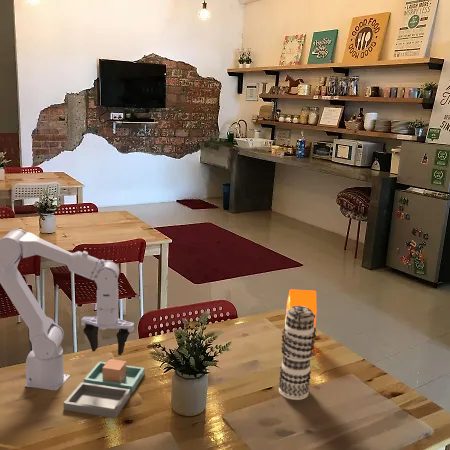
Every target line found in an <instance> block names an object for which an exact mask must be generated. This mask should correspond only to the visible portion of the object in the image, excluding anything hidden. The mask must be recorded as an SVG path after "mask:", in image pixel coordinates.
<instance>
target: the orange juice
mask: <svg viewBox="0 0 450 450" xmlns="http://www.w3.org/2000/svg"><path fill="white" fill-rule="evenodd" d="M293 306H305V307H308V308H309V309H311V311H312V312H313V313H314V314H315V316H316V317H315V318H314V327H315V328H316V323H317V312H318V311H317V290H309V289H308V290H307V289H289V291H288V296H287V301H286V310H285V312H286V311H287V310H289V309H290V308H291V307H293ZM286 317H287V315H286V314H285V318H286ZM284 321H285V322H286V319H284ZM285 322H284V323H285ZM285 333H286V332H285ZM312 336H313V335H312ZM284 339H285V338H284ZM313 351H314V349H313V350H312V353H313Z"/></svg>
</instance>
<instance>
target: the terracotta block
mask: <svg viewBox="0 0 450 450" xmlns="http://www.w3.org/2000/svg"><path fill="white" fill-rule="evenodd" d="M126 365H127V361H126V360H120V359H113V358H112V359H111V358H109V359H108V360H107V361H106V364H105V365H104V366H103V368H102V372H103V380H104V381H110V382H117V383H122V382H123V381H124V380H125V378H126Z"/></svg>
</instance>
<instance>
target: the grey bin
mask: <svg viewBox="0 0 450 450" xmlns="http://www.w3.org/2000/svg"><path fill="white" fill-rule="evenodd" d="M130 398H131V393H130V389H124V388H117V387H110V386H104V385H97V384H91V383H84V381H83V382H82V381H81V382H80V383H79V384H78V385H77V386H76V388H75V389H74V390H73V391H72V392H71V393H70V394H69V396H68V397H67V398H66V400H64V402H63V411H67V412H71V413H72V412H73V413H78V414H79V413H80V414H86V415H92V416H96V417H98V416H99V417H104V418H111V419H117V418H118V416H119V415H120V413H121V411H122V410H123V408H124V407H125V405H127V402H128V401H129V399H130Z"/></svg>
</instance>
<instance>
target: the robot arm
mask: <svg viewBox="0 0 450 450" xmlns="http://www.w3.org/2000/svg"><path fill="white" fill-rule="evenodd" d="M33 256H40V257H43V258H46V259H49V260H52V261H54V262H57V263H61V264H63V265H66V266H67V268H68V271H69V272H71V273H74V274H75V275H78V276H82V277H84V278H86V279H89V280H91V281H94V282H95V284H96V287H97V290H96V316H84V317H82V318H81V321H80V322H81V324H80V325H81V326H83V327H84V328H83V334H84V335H85V336H86V338H87V340H88V342H89V344H90V348H91V352H96V350H97V349H98V348H99V347H98V346H99V339H98V338H99V337H98V335H99V330H103V331H104V330H105V331H106V330H107V329H112V330H119V331H118V332H117V333H116V338H117V339H116V340H117V354H118V356H121V355H123V354H124V350H125V346H126V342H127V340H128V338H129V335H130V334H131V333H133V331H134V330H135V323H134V322H130V321H128V320H127V321H126V320H124V319H121V318H119V283H118V279H119V275H120V267H119V265H118V264H117V263H115V262H114V261H113V260H109V259H107V260H105V259H103V258H101V259H99V258H97V257H95V256H91V255H89V252H88V251H86V250H83V251H80V250H77V251H75V252H70V251H68V250H66V249H64V248H62V247H60V246H58V245H56V244H53V243H52V242H49V241H47V240H44V239H43V238H41V237H39V236H38V235H36V234H34V233H32V232H30V231H25V230H24V229H20V228H14V229H13V228H12V229H11V230H9V231H8V232H7V234H6V235H4V236H3V237H1V238H0V285H1V287H2V288H3V290H4V291H5V293H6V294H7V295H6V296H8V298H9V299H10V301H11V303H12V304H13V306H14V307H15V309H16V310H17V312H18V314H19V315H20V316H21V317H20V318H21V319H22V320H23V322H24V323H25V326H27V328H28V335H29V336H28V337H29V338H28V339H29V341H30V342H31V346H32V350H30V352H29V353H28V355H27V356H26V361H25V377H26V378H25V379H26V383H25V384H24V387H27V388H38V389H42V390H43V389H45V390H49V391H50V390H51V391H58V390H59V389H60V387H62V385H63V384H64V383H65V382H66V381H67V380H68V379H69V378H70V376H71V375H70V374H65V370H64V349H63V347H62V345H61V343H62V341H63V339H64V337H65V333H64V329H63V327H61V326H60V325H58V324H57V323H56V322H55V321H54V319H52V318H51V317H49V316H47V315H46V313H45V311H44V310H43V308H42V307H41V305H40V304H39V302H38V301H37V298H36V296H34V294H33V292H32V290H31V289H30V287H29V286H28V284H27V283H26V280H25V279H24V278H23V276H22V274H21V272H20V271H19V270H18V265H19V263H20V260H21V258H22V259H25V258H29V257H33Z"/></svg>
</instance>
